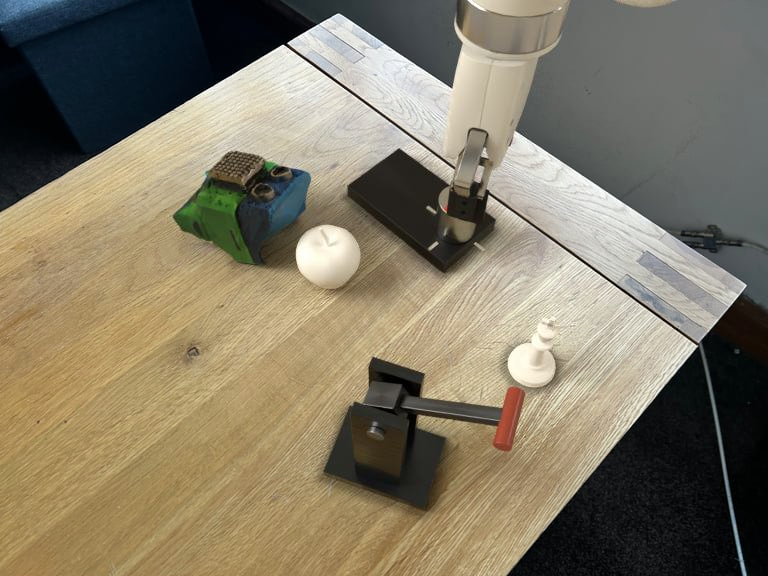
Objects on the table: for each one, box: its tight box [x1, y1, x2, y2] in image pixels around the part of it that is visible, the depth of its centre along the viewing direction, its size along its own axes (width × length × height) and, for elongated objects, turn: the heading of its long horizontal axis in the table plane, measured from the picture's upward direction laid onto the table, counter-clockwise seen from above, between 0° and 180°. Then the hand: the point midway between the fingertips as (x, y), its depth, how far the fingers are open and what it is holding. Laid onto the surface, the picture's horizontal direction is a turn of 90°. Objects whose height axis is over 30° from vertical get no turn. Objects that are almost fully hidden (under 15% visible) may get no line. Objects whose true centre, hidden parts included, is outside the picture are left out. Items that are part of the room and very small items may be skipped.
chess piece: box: [507, 315, 561, 388], centre depth 65 cm, size 5×5×10 cm
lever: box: [362, 381, 526, 452], centre depth 50 cm, size 12×4×2 cm, turn 71°
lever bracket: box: [322, 356, 447, 511], centre depth 57 cm, size 10×7×16 cm
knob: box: [435, 186, 476, 244], centre depth 74 cm, size 5×5×5 cm
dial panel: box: [346, 147, 497, 274], centre depth 79 cm, size 18×9×2 cm, turn 45°
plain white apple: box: [295, 224, 361, 290], centre depth 72 cm, size 7×7×8 cm
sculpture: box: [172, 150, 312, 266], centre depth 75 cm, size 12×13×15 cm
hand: (480, 178), depth 60 cm, fingers open, 9 cm apart
